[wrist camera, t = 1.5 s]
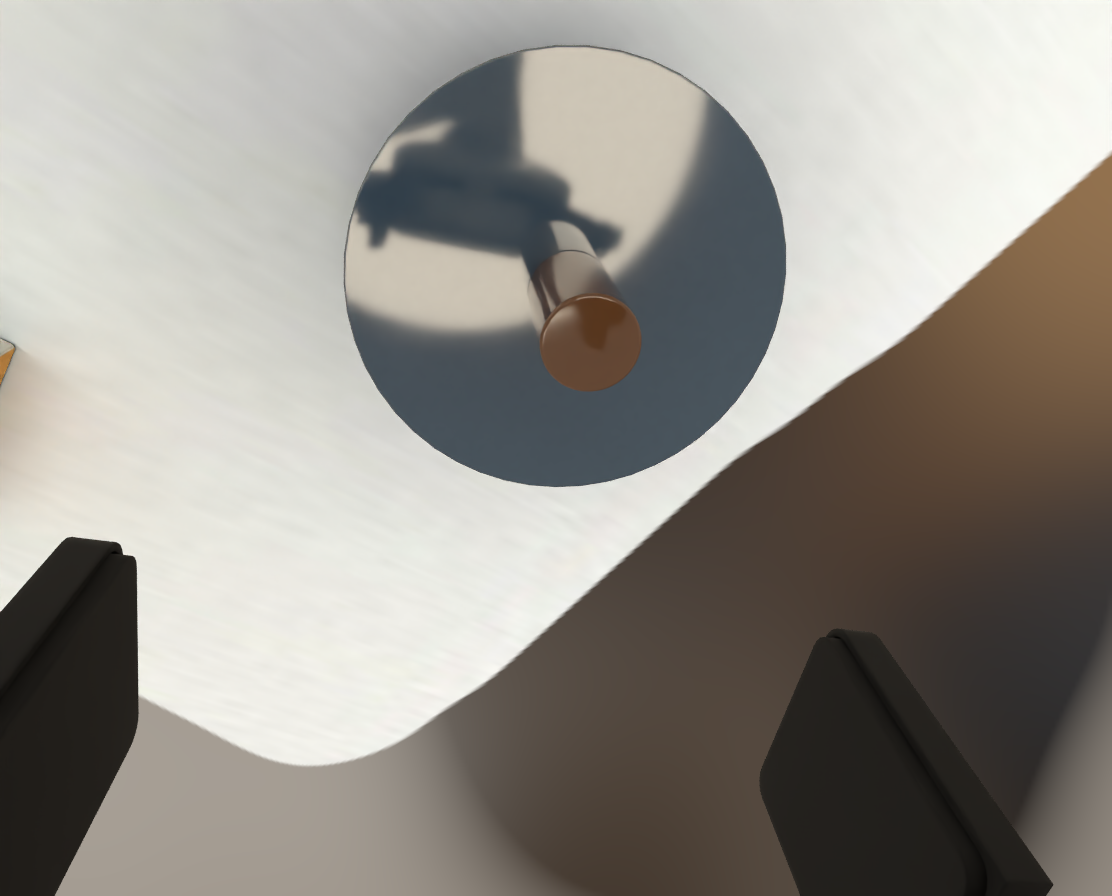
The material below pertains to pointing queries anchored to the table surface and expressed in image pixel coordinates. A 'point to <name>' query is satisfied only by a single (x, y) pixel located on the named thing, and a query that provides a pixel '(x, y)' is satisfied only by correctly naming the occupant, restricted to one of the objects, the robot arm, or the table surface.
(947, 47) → the table surface
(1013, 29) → the table surface
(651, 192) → the lid
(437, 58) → the table surface
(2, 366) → the small box
